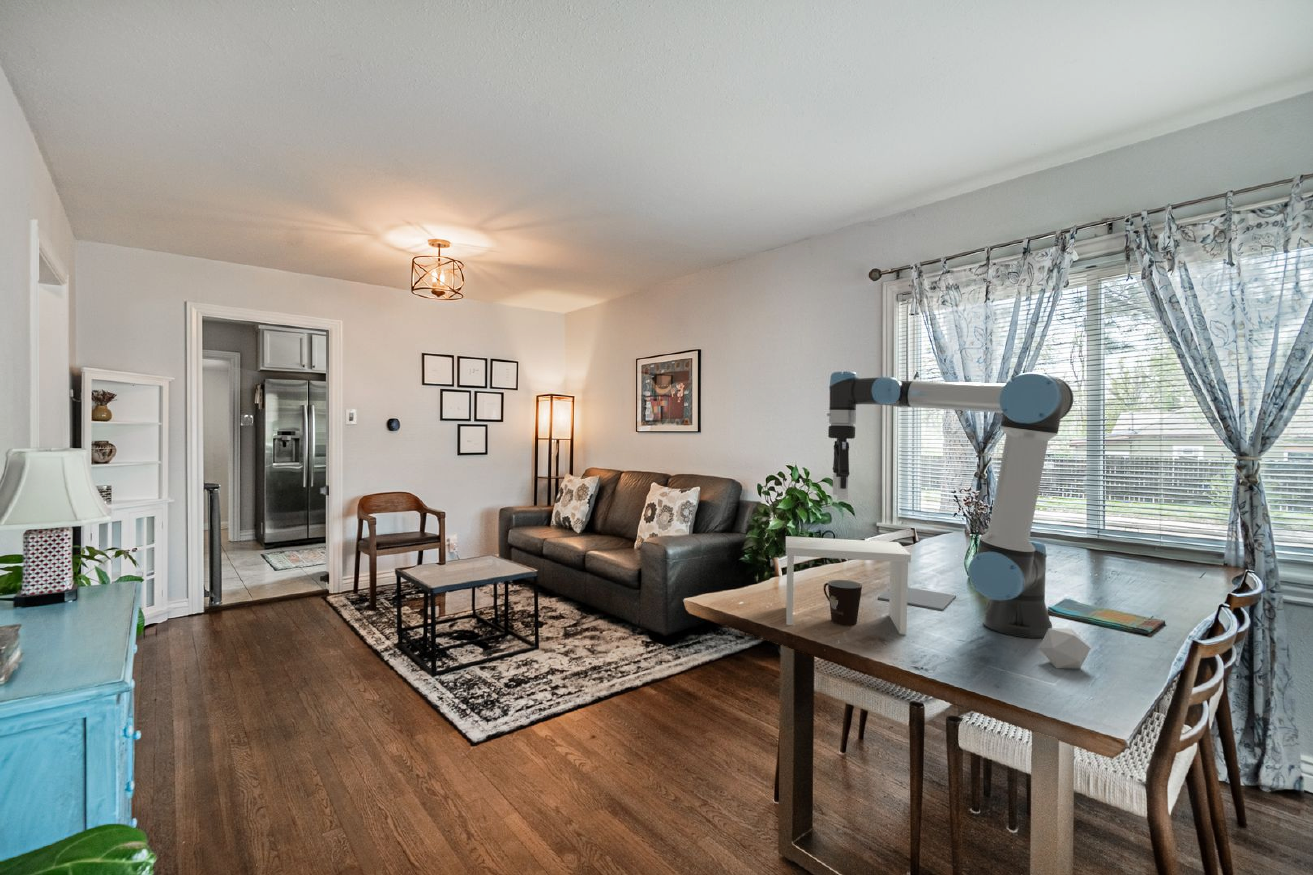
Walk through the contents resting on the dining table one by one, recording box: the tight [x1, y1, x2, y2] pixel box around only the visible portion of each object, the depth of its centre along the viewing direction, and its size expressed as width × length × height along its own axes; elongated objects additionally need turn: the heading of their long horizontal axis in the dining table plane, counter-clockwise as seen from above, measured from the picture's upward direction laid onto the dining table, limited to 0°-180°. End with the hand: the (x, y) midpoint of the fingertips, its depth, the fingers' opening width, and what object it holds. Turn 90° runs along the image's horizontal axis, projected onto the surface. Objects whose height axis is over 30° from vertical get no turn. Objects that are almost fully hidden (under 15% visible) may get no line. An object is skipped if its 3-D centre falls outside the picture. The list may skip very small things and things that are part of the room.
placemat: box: [877, 587, 957, 612], centre depth 183 cm, size 18×18×1 cm
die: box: [1038, 627, 1092, 670], centre depth 131 cm, size 8×9×10 cm
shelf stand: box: [785, 535, 912, 636], centre depth 161 cm, size 17×30×20 cm, turn 78°
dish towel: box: [1046, 597, 1167, 637], centre depth 166 cm, size 17×23×2 cm
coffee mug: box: [823, 579, 863, 627], centre depth 161 cm, size 12×9×10 cm
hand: (839, 497), depth 178 cm, fingers open, 13 cm apart
